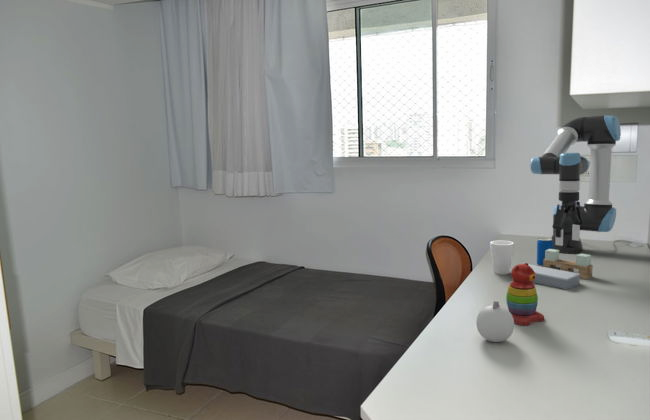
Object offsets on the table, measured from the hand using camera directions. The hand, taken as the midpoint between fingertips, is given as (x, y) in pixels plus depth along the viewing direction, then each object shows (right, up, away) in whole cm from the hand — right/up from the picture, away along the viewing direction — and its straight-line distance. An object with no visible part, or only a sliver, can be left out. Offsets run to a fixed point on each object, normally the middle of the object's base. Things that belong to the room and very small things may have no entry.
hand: (567, 242), depth 204 cm
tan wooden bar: (+1, -13, +2) cm, 13 cm away
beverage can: (-2, -11, +16) cm, 20 cm away
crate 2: (+4, -9, -4) cm, 10 cm away
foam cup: (-24, -13, +8) cm, 29 cm away
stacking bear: (-36, -22, -44) cm, 61 cm away
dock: (-12, -15, -6) cm, 20 cm away
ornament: (-50, -25, -60) cm, 82 cm away
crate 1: (-3, -8, +7) cm, 11 cm away
